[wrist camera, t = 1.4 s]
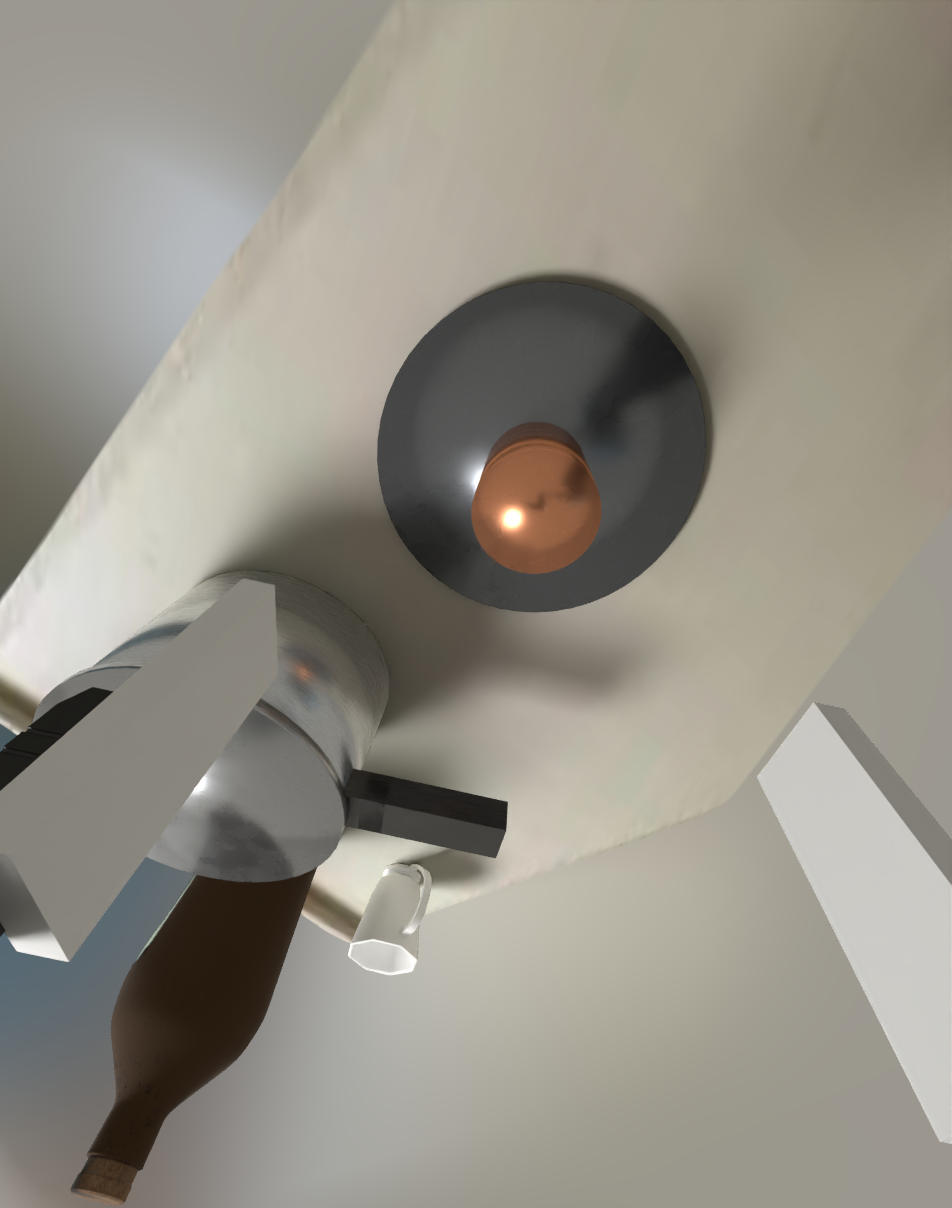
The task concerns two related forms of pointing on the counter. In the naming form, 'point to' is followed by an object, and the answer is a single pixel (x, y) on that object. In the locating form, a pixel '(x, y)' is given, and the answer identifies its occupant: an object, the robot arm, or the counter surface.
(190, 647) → the robot arm
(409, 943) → the cup
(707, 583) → the counter surface
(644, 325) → the cooker lid
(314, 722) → the cooker body
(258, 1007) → the olive oil
